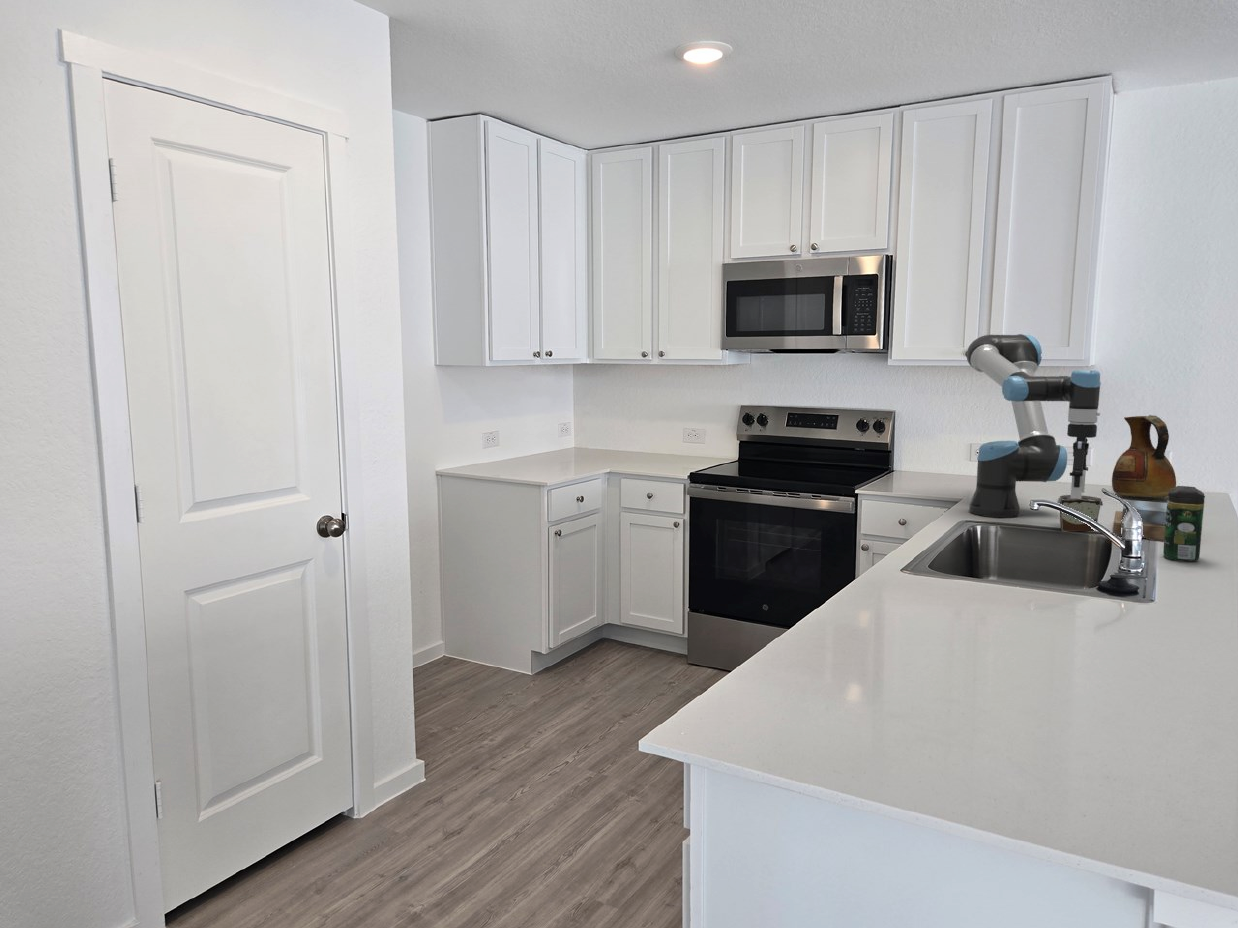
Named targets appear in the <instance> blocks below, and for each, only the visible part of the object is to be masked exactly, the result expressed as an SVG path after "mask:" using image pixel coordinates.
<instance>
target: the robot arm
mask: <svg viewBox="0 0 1238 928" xmlns="http://www.w3.org/2000/svg"><path fill="white" fill-rule="evenodd" d="M1042 353H1043V352H1042V346H1041V343H1040V341H1038V339H1037V338H1036V337H1035V336H1033V335H1031V334H1024V333H1023V334H1022V333H1021V334H1020V333H1019V334H985V335H982V336H979V337H977V338H976V339H974V340H973V341H971V343H970V345H968V348H967V350H966V361H967V362H968V364H969V366H970V367H972V369H974V370H975V371H976V372H979V373H984V374H985V375H986V376H987V377H989V378H990V379H992V380H993V382H995V383H997V384H998V385H999V386H1000V387H1001V393H1002V395H1003V399H1005V400H1006V401H1007V402H1011V404H1012V410H1013V411H1012V412H1013V414H1014V420H1015V424H1016V429H1017V432H1018V437H1019V440H1018V441H1015V440H995V441H988V442H985V443H983V444H981V445H980V447H979V448H978V453H977V454H978V455H977V467H976V468H977V470H976V485H975V486H976V488H975V491H974V493H973V495H972V498H971V501H970V503H969V507H968V511H969V513H971V514H974V515H977V516H983V517H991V518H993V517H994V518H1014V517H1013V516H1016V517H1019V516H1020V515H1021V507H1020V504H1019V500H1018V496H1017V491H1016V486H1017V482H1035V483H1036V482H1037V483H1038V482H1043V483H1047V482H1056V481H1059V480H1060V479H1061V478H1062V477H1063V476H1064V474H1065V471H1066V469H1067V465H1068V453H1067V449H1066V448H1065V447H1064V446H1063V445H1060V444H1057V442H1056V439H1055V437H1054V435H1052V434H1050V433H1049V431H1048V427H1047V422H1046V418H1045V414H1044V409H1043V405H1042V402H1068V403H1069V404H1068V413H1067V414H1068V415H1067V421H1068V424H1067V433H1066V434H1067V436H1068V437H1070V438H1076V441H1075V442H1073V444H1072V449H1073V451H1072V457H1073V460H1072V461H1073V462H1072V471H1071V472H1069V476H1071V487H1070V488H1071V489H1070V495H1071V498H1075V499H1081V497H1082V495H1083V493H1085V485H1086V471H1087V472H1088V471H1089V467H1088V466H1087V456H1088V453H1089V448H1090V443H1088V439H1089V438H1091V439H1092V438H1095V437H1097V434H1098V433H1097V431H1098V426H1097V424H1096V423H1097V422H1098V417H1099V416H1101V413H1100V412H1099V403H1100V402H1099V401H1100V392H1101V391H1100V389H1101V373H1100V371H1098V370H1087V369H1085V370H1083V369H1081V370H1080V369H1079V370H1077V369H1075V370H1073V371H1071V375H1070V376H1068V375H1058V376H1057V375H1055V376H1051V375H1050V376H1048V375H1046V376H1044V375H1043V376H1041V375H1040V376H1038V375H1035V373H1036V372H1037V370H1038V367H1039V366H1040V364H1041V362H1042V357H1043V356H1042ZM1019 514H1020V515H1019ZM1018 515H1019V516H1018Z"/></svg>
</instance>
